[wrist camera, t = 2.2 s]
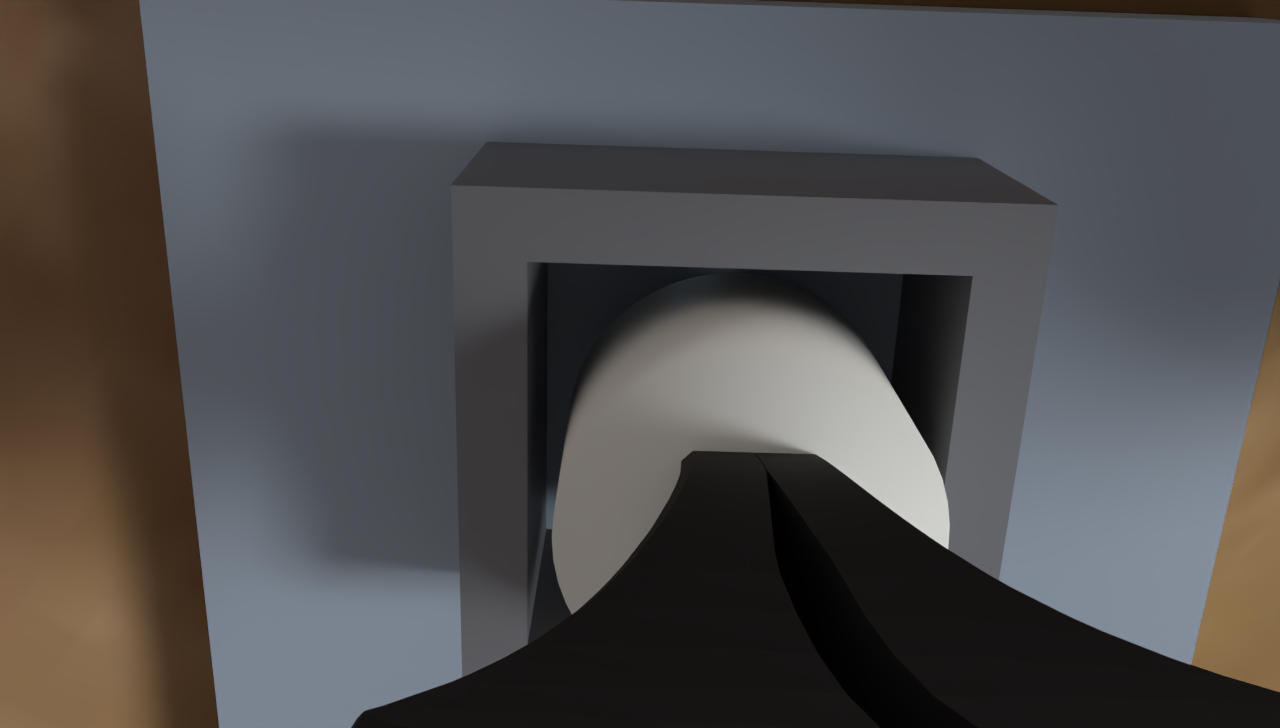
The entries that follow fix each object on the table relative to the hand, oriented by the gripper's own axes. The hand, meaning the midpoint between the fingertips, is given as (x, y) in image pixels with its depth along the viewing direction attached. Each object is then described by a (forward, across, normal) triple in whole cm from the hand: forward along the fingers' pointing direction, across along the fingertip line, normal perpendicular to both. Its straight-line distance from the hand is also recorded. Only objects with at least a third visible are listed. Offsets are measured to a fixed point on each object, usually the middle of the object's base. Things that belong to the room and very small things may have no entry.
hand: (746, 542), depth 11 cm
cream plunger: (+3, 0, 0) cm, 3 cm away
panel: (+7, 0, +5) cm, 8 cm away
